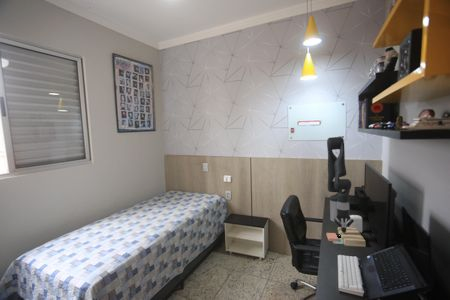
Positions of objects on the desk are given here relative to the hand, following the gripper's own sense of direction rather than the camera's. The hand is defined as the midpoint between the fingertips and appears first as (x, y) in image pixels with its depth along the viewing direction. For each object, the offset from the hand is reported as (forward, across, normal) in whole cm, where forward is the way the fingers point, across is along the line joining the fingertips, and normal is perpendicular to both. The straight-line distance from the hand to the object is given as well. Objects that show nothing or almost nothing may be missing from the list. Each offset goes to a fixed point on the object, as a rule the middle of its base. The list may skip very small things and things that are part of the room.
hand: (343, 232), depth 156 cm
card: (+3, +7, 0) cm, 8 cm away
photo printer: (+5, -10, -14) cm, 18 cm away
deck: (+5, -4, -1) cm, 7 cm away
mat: (+5, +5, 0) cm, 7 cm away
